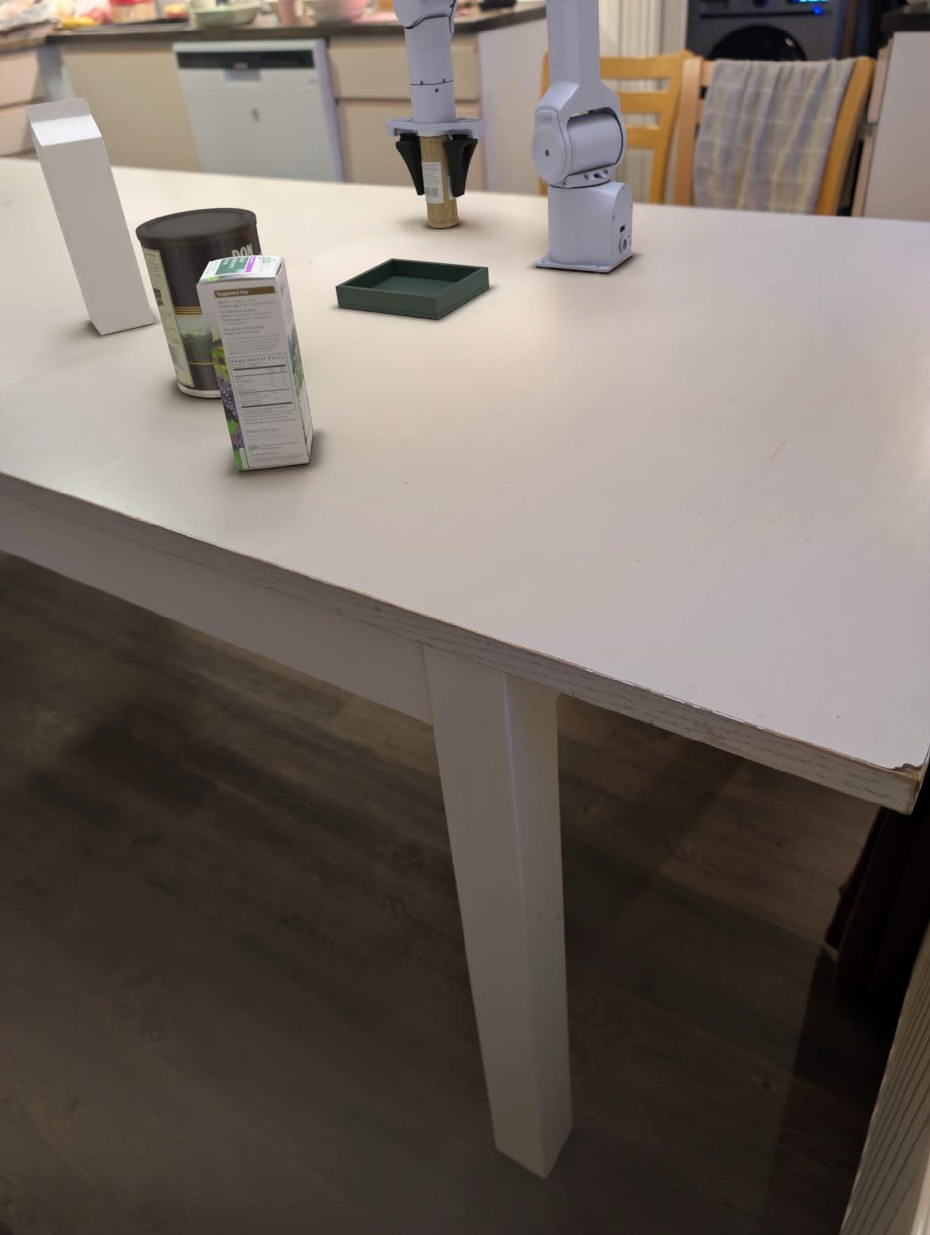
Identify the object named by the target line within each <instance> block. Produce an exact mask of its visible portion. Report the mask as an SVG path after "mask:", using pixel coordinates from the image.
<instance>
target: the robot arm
mask: <svg viewBox="0 0 930 1235" xmlns="http://www.w3.org/2000/svg"><path fill="white" fill-rule="evenodd" d="M391 3H392V4H391V5H392V8H393V13H394V14H395V17H396V19H397V21H398V22H399V23H400V25H401V26H403V28H404V29H403V30H404V40H405V47H406V48H405V49H406V51H405V52H406V61H407V71H408V81H409V92H410V103H411V112H412V114H411V115H412V117H404V118H403V117H402V118H391V119H388V120H386V121H385V125H386V135H387V137H388V138H394V137H399V140H398V141H395V144H394V145H395V149H396V150H397V152H398V153H399V155H400V156H401V158H402V159H403V161H404V163H405V165H406V168H407V169H408V172H409V174H410V177H411V180H412V182H413V186H414V188H415V192H416V195H417V196H425V190H424V180H423V170H422V155H421V146H420V139H419V137H420V136H419V135H418V131H439V130H445V132H449V133H448V134H447V136H448V137H451V139H450V140H448V141H445V142H443V146H444V149H445V152H446V156H447V159H448V164H449V169H450V178H451V190H452V195H453V197H456V199H458V198H460V197H461V196H462V197H463V196H464V195H465V192H466V185H467V178H468V173H469V169H470V165H471V161H472V159H473V158H472V157H473V155H474V153H475V150H476V147H477V146H478V143H479V139H482V138H484V137H487V120H486V119H485V118H483V119H482V118H471V117H470V118H468V117H459V116H457V114H456V111H457V110H456V97H455V85H454V84H455V83H454V71H453V70H454V69H453V68H454V67H453V56H452V41H451V40H452V38H453V37H454V33H455V16H456V14H457V10H458V4H459V0H391ZM545 10H546V11H545V12H546V32H547V55H548V71H549V72H548V74H549V86H548V88H547V89H546V91H545V92H544V94H543V96H542V97H541V98H540V100H539V101H538V103H537V104H536V106H535V108H534V130H533V134H532V138H531V143H530V144H531V145H530V153H531V160H532V163H533V166H534V169H535V171H536V173H537V175H538V176H539V177H540V178H541V179H542V180H541V183H542V184H543V185H547V222H548V223H547V232H548V234H547V236H548V254H545V255H544V256H542V257H541V258H539V259H538V260H536V261H535V263H534V264H535V266H536V267H542V268H552V269H553V268H555V269H563V270H564V269H565V270H576V271H588V272H599V273H609V272H611V271H612V270H614V269H616V267H617V266H619V265H620V264H622V263H623V262H624V261H626V260H627V259H629V258H630V257H631V256H633V255H634V250H633V249H632V238H633V211H634V209H633V208H634V198H633V191H632V188H631V186H630V185H629V183H626V182H618V181H615V180H613V179H612V178H613V177H616V174H617V172H616V171H617V170H616V168H617V167H618V166H619V165H620V164H621V162H622V161H623V159H624V157H625V155H626V151H627V144H628V138H627V137H628V136H627V128H626V126H625V123H624V120H623V116H622V110H621V98H620V95H618V94H617V92H616V91H614V90H613V89H612V88H611V87H609V86H607V84H606V83H604V82H603V81H602V79H601V52H600V51H601V49H600V48H601V47H600V46H601V45H600V44H601V43H600V41H601V40H600V4H599V0H545ZM583 112H587V113H583ZM578 113H581V114H578ZM575 114H577V115H575Z"/></svg>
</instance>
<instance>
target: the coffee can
mask: <svg viewBox="0 0 930 1235" xmlns="http://www.w3.org/2000/svg"><path fill="white" fill-rule="evenodd" d="M257 224H258V220H257V215H256V213H255V212H254V211H252V210H249V209H245V208H241V207H212V208H211V207H209V208H199V209H191V210H184V211H179V212H175V213H170V214H166V215H162V216H158V217H154V218H152V219H149V220H147V221H145V222H143V223H141V224H139V225H138V226H137V227H136V228H135V231H134V232H135V235H136V238H137V240H138V242H139V243H140V247H141V250H142V255H143V258H144V262H145V266H146V269H147V273H148V277H149V280H150V284H151V288H152V291H153V295H154V299H155V302H156V307H157V309H158V313H159V317H160V321H161V325H162V328H163V331H164V332H163V333H164V336H165V339H166V343H167V346H168V350H169V354H170V358H171V360H172V365H173V368H174V373H175V377H176V380H177V387H178V389H179V390H180V391H181V392H182V393H184V394H186V395H188V396H192V397H197V398H208V399H218V398H220V399H221V394H220V390H219V386H218V381H217V377H216V372H215V368H214V364H213V359H212V354H211V350H210V346H209V341H208V337H207V332H206V328H205V323H204V318H203V314H202V310H201V306H200V301H199V297H198V292H197V287H196V286H197V284H198V282H199V280H200V278H201V277H202V275H203V273H204V271H205V269H206V267H207V265H208V263H209V262H211V261H215V260H219V259H224V258H230V257H238V256H254V255H262V256H263V253H262V248H261V243H260V238H259V233H258V226H257Z"/></svg>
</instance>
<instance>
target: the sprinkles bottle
mask: <svg viewBox="0 0 930 1235" xmlns="http://www.w3.org/2000/svg"><path fill="white" fill-rule="evenodd" d="M448 133H449V132H445V130H439V131H418V135H419V136H420V137H419V139H420V146H421V155H422V170H423V180H424V190H425V194H424V198H425V204H426V212H427V213H426V214H427V225H428V227H429V228H433V229H445V228H452V227H454V226H456V225H458V224H459V222H460V218H459V214H458V204H457V203H458V201H457V198H456V197H453V195H452V190H451V178H450V169H449V164H448V159H447V156H446V152H445V149H444V146H443V142H445V141H448V140H450V139H452V137H448V136H447V134H448Z"/></svg>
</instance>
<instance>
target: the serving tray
mask: <svg viewBox="0 0 930 1235" xmlns="http://www.w3.org/2000/svg"><path fill="white" fill-rule="evenodd" d="M334 287H335V294H336V300H337V306H338V308H343V309H352V310H358V311H367V312H373V313H374V312H375V313H384V314H391V315H399V316H406V317H415V318H423V319H424V318H425V319H432V320H439V319H441V318H443V317H445V316H446V315H447V314H449V313H450V312H452V311H454V310H456V309H457V308H459V307H461V306H462V305H464V304H465V303H467V302H469V301H471V300H472V299H474V298H475V297H478V295H480V294H481V293H483V292H485V291H487V290H488V289H489V288H490V276H489V267H488V266H481V265H480V266H479V265H469V264H458V263H446V262H438V261H437V262H435V261H426V260H416V259H415V260H414V259H404V258H394V257H393V258H389V259H387V260H385V261H383V262H382V263H380V264H377V265H375V266H372V267H371V268H369V269H367V270H365V271H363V272H361V273H359V274H357V275H355V276H353V277H352V278H349V279H347V280H345V281H344V282H341V283H339V284H337V285H335V286H334Z"/></svg>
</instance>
